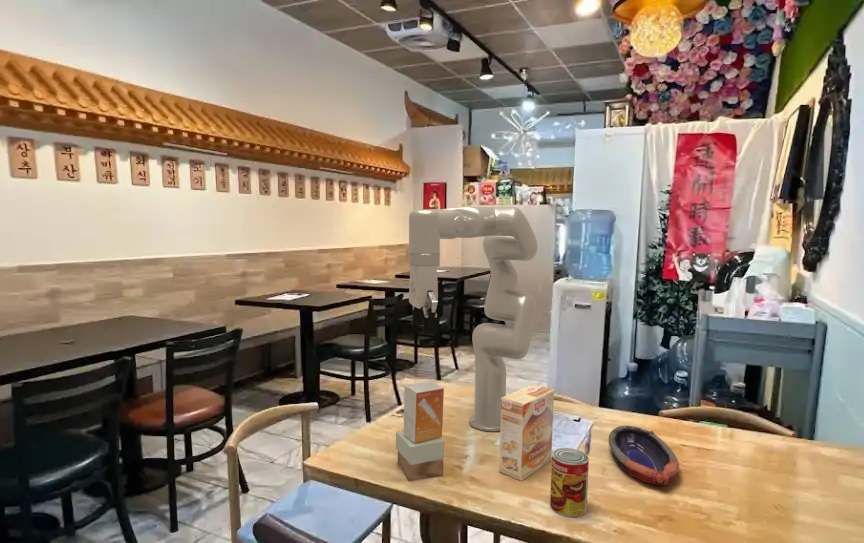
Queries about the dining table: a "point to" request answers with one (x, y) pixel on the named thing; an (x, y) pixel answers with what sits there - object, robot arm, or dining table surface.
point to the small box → (423, 411)
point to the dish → (643, 454)
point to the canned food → (569, 482)
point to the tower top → (419, 449)
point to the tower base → (420, 469)
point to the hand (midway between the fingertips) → (424, 329)
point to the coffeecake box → (526, 431)
